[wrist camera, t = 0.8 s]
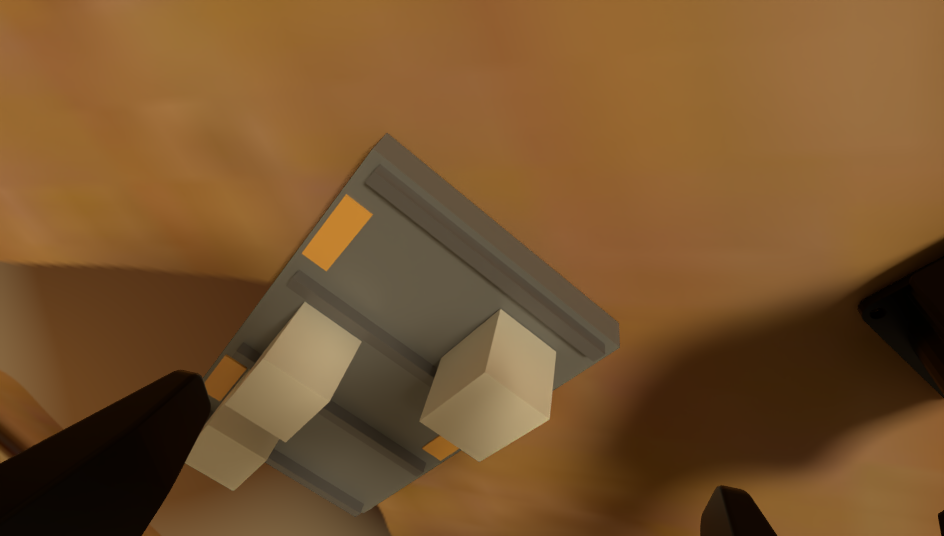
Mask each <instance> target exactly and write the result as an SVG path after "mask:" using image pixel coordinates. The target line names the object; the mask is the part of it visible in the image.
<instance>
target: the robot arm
mask: <svg viewBox="0 0 944 536" xmlns="http://www.w3.org/2000/svg"><path fill="white" fill-rule="evenodd" d="M876 308H881V309H879V310H878V311H875V312H871V311H872V310H873V309H876ZM858 312H859V314H860V315H861V317H862V318H863V320H864V321H865V322H866V323H867V324H868V325H869V326H870V327H871V328H872V329H873V330H874V331H875V332H876V333H877V334H878V335H879V336H880V337H881V338H882V339H883V340H884V341H885V342H886V343H887V344H888V345H890V346H891V347H892V348H893V349H894V350H895V351H896V352H897V353H898V354H899V355H900V356H901V357H902V358H903V359H904V360H905V361H906V362H907V363H908V364H909V365H910V366H911V367H912V368H913V369H914V370H915V371H916V372H917V373H918V374H920V375H921V376H922V377H923V378H924V379H925V380H926V381H927V382H928V383H929V384H930V385H931V386H932V387H933V388H934V389H935V390H936V391H937V392H938V393H939V394H940V395H941V396H942V397H943V398H944V256H943V257H941V258H940V259H938V260H936V261H934V262H932V263H930V264H928V265H927V266H925V267H923V268H921V269H919V270H917V271H915V272H914V273H912V274H910V275H908V276H906V277H904V278H902V279H900V280H899V281H897V282H895V283H893V284H891V285H889V286H887V287H886V288H884V289H882V290H880V291H878V292H876V293H874V294H873V295H871V296H869V297H867V298H865V299H864V300H862V301H861V302H860V304H859V305H858ZM210 412H211V401H210V398H209V395H208V392H207V389H206V386H205V383H204V380H203V378H202V376H201V375H199V374H198V373H193V372H189V371H184V370H177V371H174V372H172V373H170V374H168V375H166V376H164V377H162V378H160V379H158V380H157V381H155V382H153V383H151V384H149V385H147V386H145V387H143V388H141V389H140V390H138V391H136V392H134V393H132V394H130V395H128V396H126V397H125V398H123V399H121V400H119V401H117V402H115V403H113V404H111V405H110V406H108V407H106V408H104V409H102V410H100V411H98V412H96V413H94V414H92V415H91V416H89V417H87V418H85V419H83V420H81V421H79V422H77V423H76V424H74V425H72V426H70V427H68V428H66V429H64V430H62V431H60V432H59V433H57V434H55V435H53V436H51V437H49V438H47V439H45V440H43V441H42V442H40V443H38V444H36V445H34V446H32V447H30V448H28V449H26V450H25V451H23V452H21V453H19V454H17V455H15V456H13V457H11V458H9V459H8V460H6V461H4V462H2V463H0V536H142V534H143V533H144V531H145V530H146V528H147V526H148V525H149V523H150V522H151V520H152V519H153V517H154V516H155V514H156V513H157V511H158V509H159V508H160V506H161V505H162V503H163V501H164V500H165V498H166V496H167V495H168V493H169V492H170V490H171V488H172V486H173V484H174V483H175V481H176V479H177V477H178V475H179V473H180V471H181V469H182V467H183V465H184V464H185V462H186V460H187V458H188V456H189V454H190V452H191V450H192V448H193V446H194V444H195V442H196V440H197V439H198V437H199V435H200V433H201V431H202V429H203V427H204V425H205V423H206V421H207V419H208V417H209V415H210ZM938 519H939V525H940V530H941V536H944V510H943V511H942V512H940V513H939V514H938ZM700 536H777V534H776V533H775V532H774V530H773V529H772V527H771V526H770V524H769V523H768V521H767V520H766V518H765V517H764V515H763V514H762V512H761V511H760V509H759V508H758V506H757V505H756V503H755V502H754V501H753V499H752V498H751V496H750V495H749V494H748V493H747V492H746V491H744V490H741V489H737V488H732V487H728V486H722V485H720V486H718V487H717V488H716V489H715V491H714V493H713V494H712V496H711V498H710V500H709V502H708V504H707V506H706V508H705V510H704V512H703V514H702V517H701V525H700Z"/></svg>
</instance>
